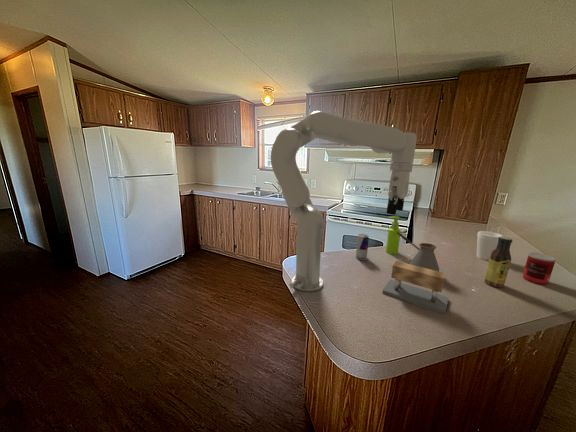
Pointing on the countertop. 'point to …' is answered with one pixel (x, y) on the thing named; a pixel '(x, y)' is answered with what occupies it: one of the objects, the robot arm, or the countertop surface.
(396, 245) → the soap dispenser
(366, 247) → the energy drink
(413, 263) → the coffee pot
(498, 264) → the sauce bottle
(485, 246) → the foam cup
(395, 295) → the peg stand
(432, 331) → the countertop surface
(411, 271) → the shelf board
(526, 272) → the canned food
